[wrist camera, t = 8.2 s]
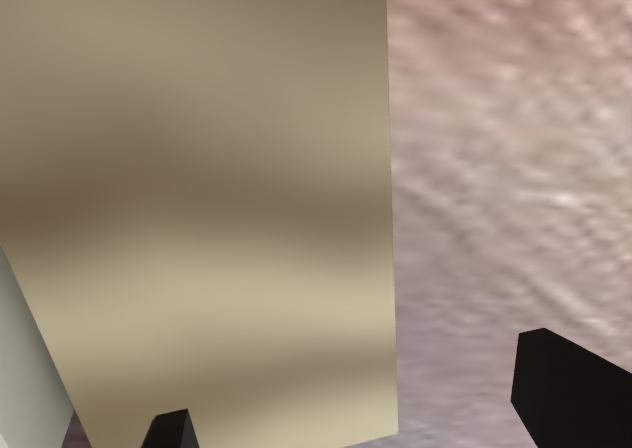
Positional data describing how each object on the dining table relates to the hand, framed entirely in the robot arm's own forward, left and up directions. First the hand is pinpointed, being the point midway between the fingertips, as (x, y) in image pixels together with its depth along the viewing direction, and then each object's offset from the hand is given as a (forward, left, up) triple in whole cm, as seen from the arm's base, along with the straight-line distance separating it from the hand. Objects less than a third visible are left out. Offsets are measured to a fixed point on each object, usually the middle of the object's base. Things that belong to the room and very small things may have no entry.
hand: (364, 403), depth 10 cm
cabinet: (+3, +5, -10) cm, 12 cm away
